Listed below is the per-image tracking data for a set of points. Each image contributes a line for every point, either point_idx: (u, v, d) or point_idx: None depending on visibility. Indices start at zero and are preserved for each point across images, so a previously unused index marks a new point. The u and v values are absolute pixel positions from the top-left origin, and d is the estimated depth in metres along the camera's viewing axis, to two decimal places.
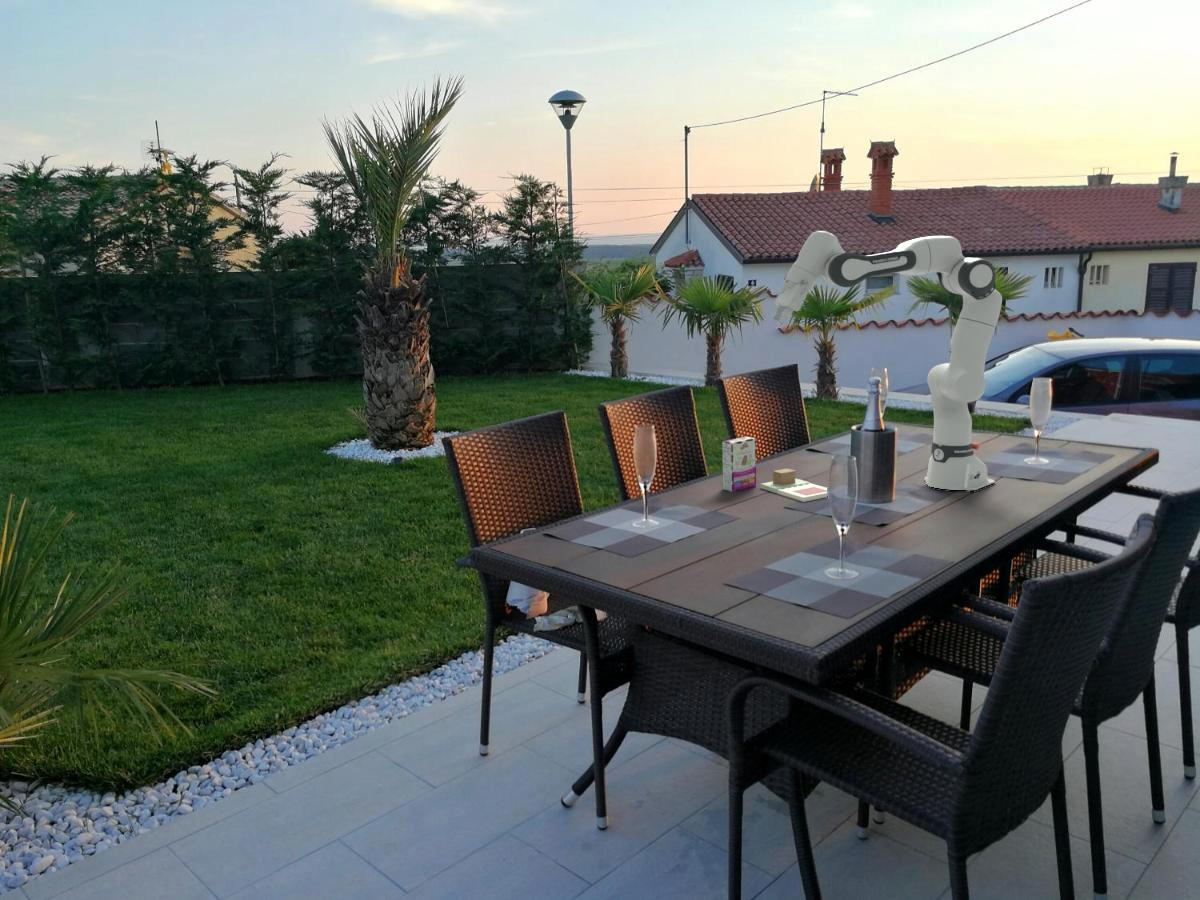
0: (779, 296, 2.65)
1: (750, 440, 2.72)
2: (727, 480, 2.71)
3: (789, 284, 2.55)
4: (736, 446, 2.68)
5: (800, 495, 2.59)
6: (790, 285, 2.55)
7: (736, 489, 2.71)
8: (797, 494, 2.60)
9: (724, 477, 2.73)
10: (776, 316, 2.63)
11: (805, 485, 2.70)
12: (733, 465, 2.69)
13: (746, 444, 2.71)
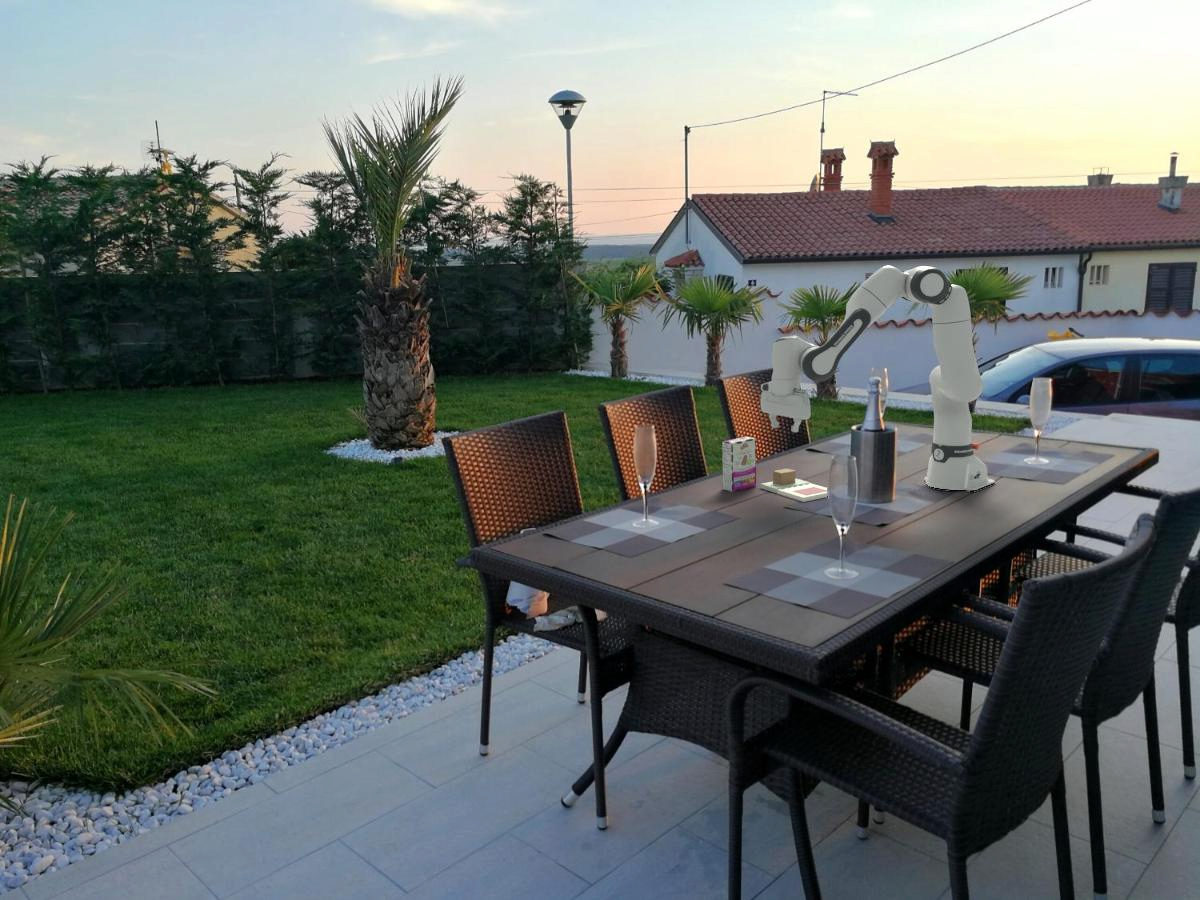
0: (765, 404, 2.74)
1: (750, 440, 2.72)
2: (727, 480, 2.71)
3: (781, 396, 2.65)
4: (736, 446, 2.68)
5: (800, 495, 2.59)
6: (783, 397, 2.65)
7: (736, 489, 2.71)
8: (797, 494, 2.60)
9: (724, 477, 2.73)
10: (775, 424, 2.73)
11: (805, 485, 2.70)
12: (733, 465, 2.69)
13: (746, 444, 2.71)
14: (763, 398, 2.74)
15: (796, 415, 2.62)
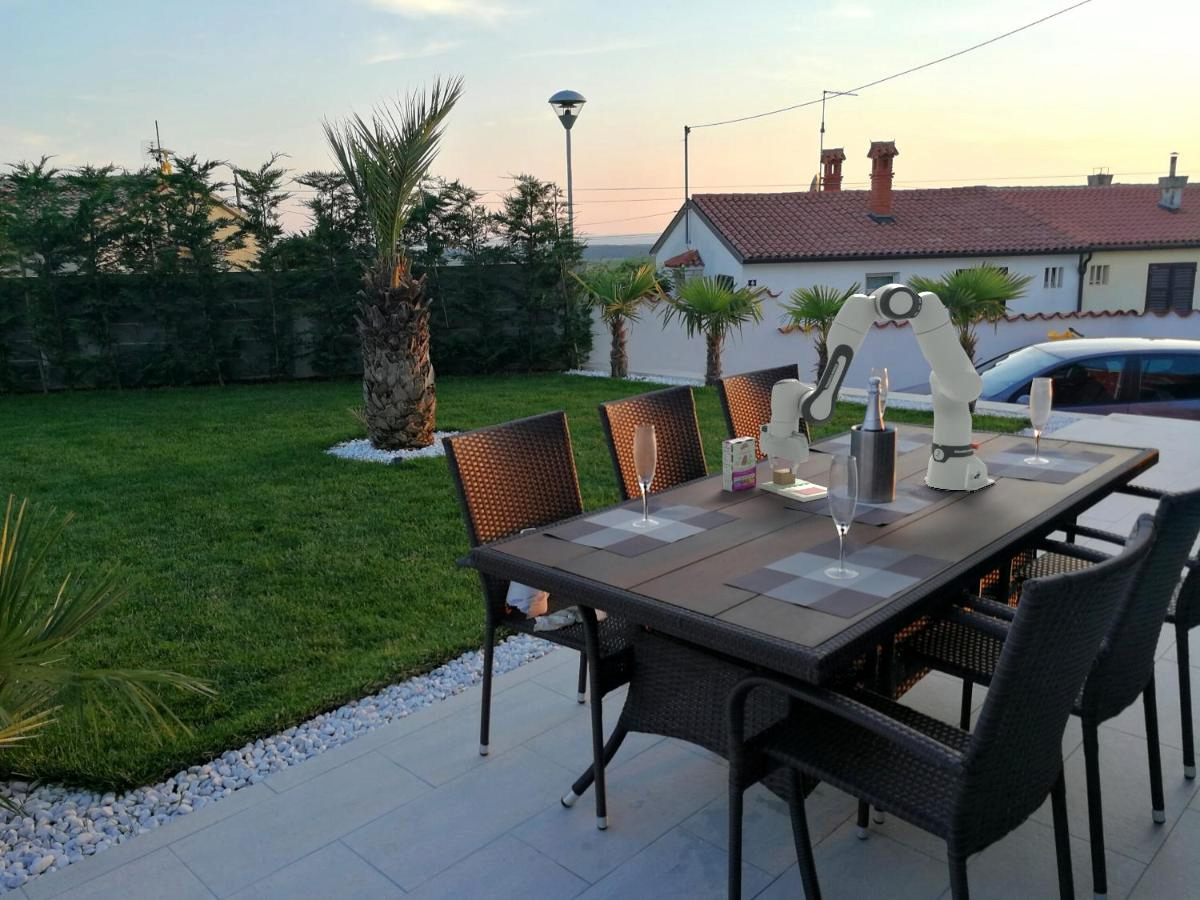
0: (763, 445, 2.77)
1: (750, 440, 2.72)
2: (727, 480, 2.71)
3: (780, 439, 2.68)
4: (736, 446, 2.68)
5: (800, 495, 2.59)
6: (782, 439, 2.68)
7: (736, 489, 2.71)
8: (797, 494, 2.60)
9: (724, 477, 2.73)
10: (774, 465, 2.76)
11: (805, 485, 2.70)
12: (733, 465, 2.69)
13: (746, 444, 2.71)
14: (762, 439, 2.77)
15: (794, 458, 2.65)
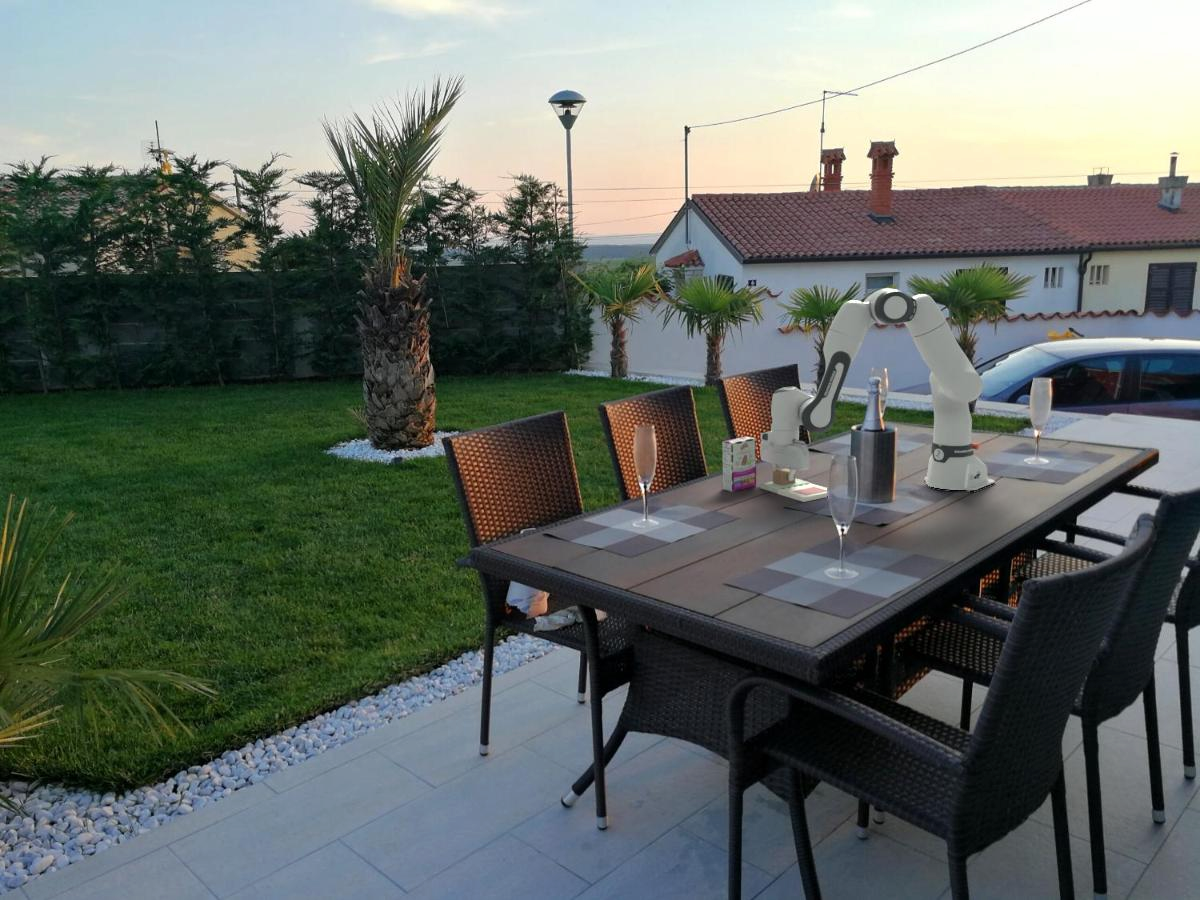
0: (764, 453, 2.78)
1: (750, 440, 2.72)
2: (727, 480, 2.71)
3: (781, 446, 2.69)
4: (736, 446, 2.68)
5: (800, 495, 2.59)
6: (782, 447, 2.68)
7: (736, 489, 2.71)
8: (797, 494, 2.60)
9: (724, 477, 2.73)
10: None
11: (805, 485, 2.70)
12: (733, 465, 2.69)
13: (746, 444, 2.71)
14: (763, 447, 2.78)
15: (795, 466, 2.65)
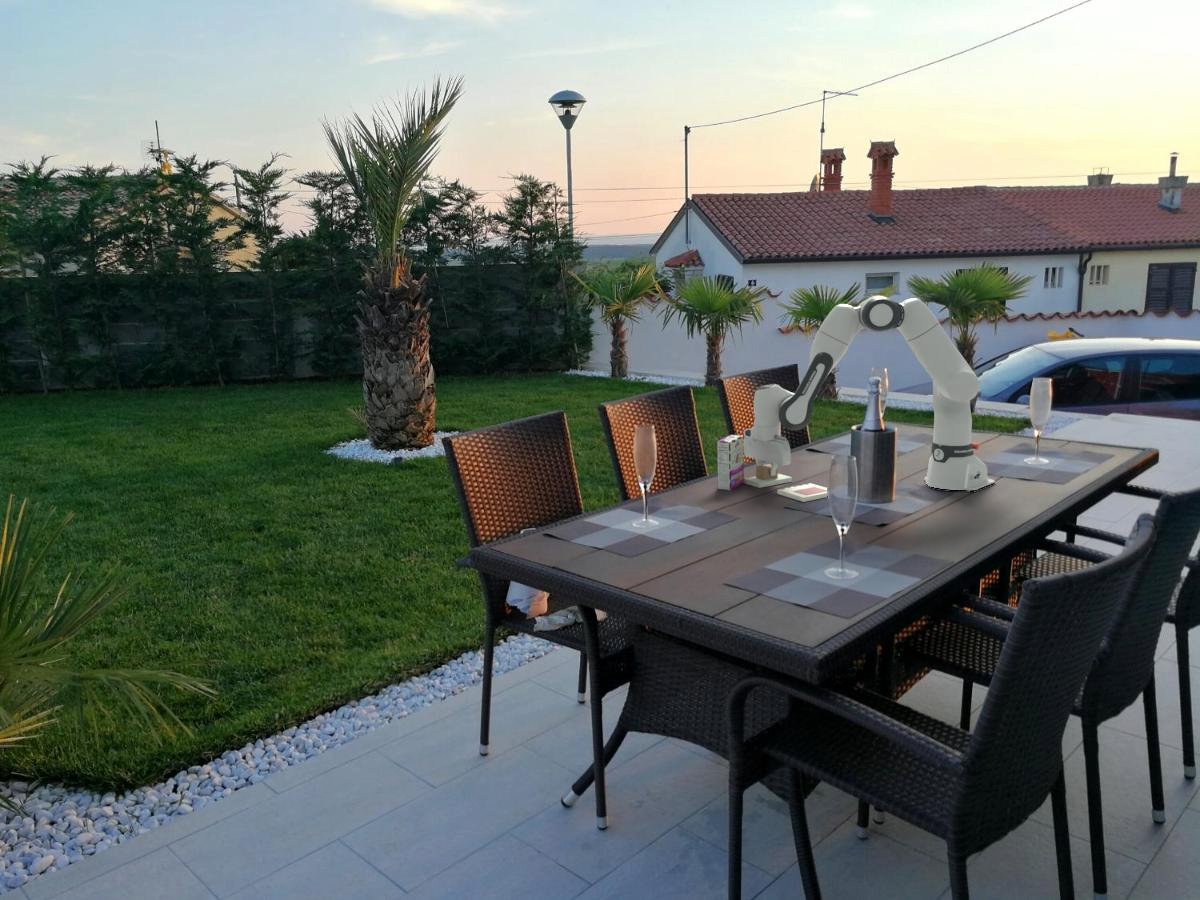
0: (747, 449, 2.85)
1: (740, 438, 2.76)
2: (724, 479, 2.73)
3: (763, 442, 2.76)
4: (732, 444, 2.71)
5: (800, 495, 2.59)
6: (765, 443, 2.76)
7: (732, 487, 2.74)
8: (797, 494, 2.60)
9: (719, 476, 2.73)
10: None
11: (805, 485, 2.70)
12: (730, 464, 2.71)
13: (738, 442, 2.75)
14: (746, 443, 2.85)
15: (777, 461, 2.73)
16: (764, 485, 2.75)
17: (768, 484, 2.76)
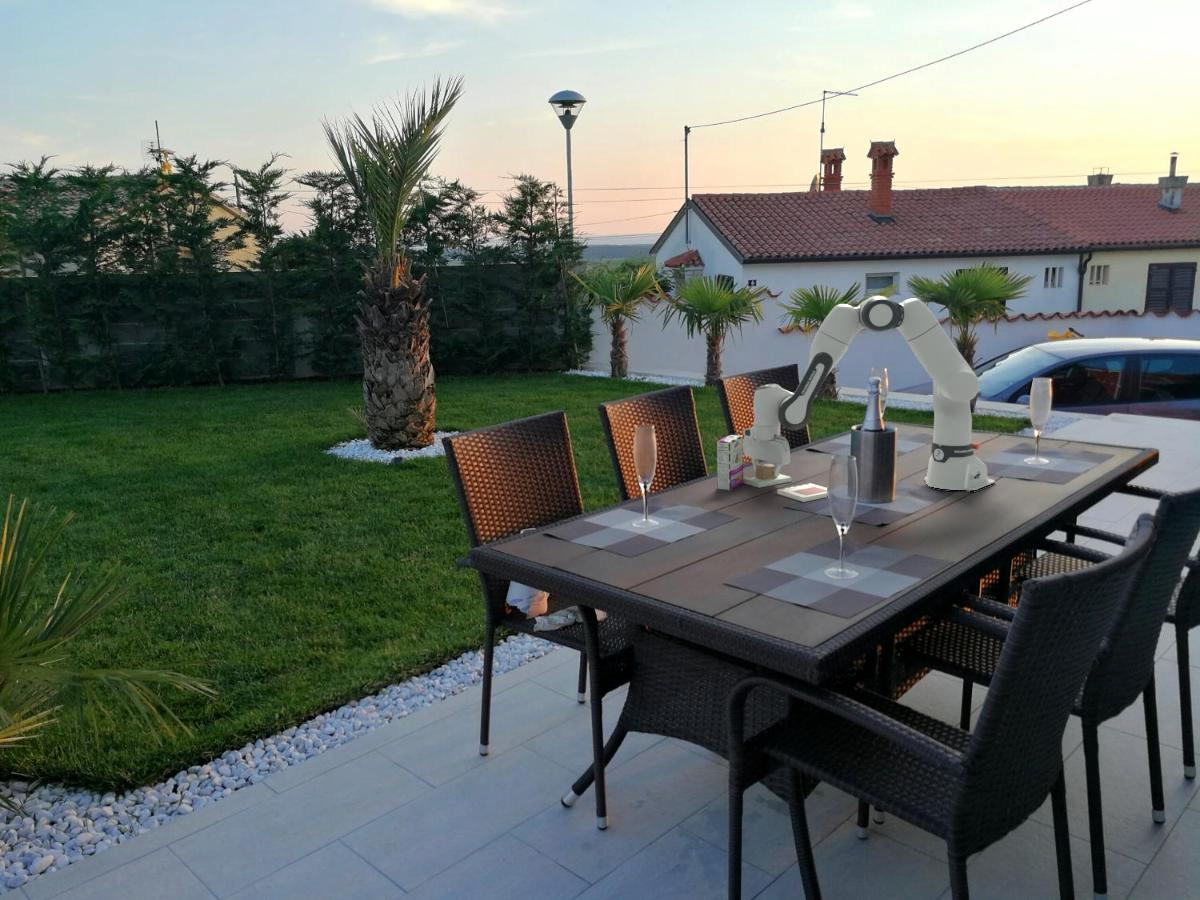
0: (747, 448, 2.85)
1: (739, 438, 2.76)
2: (723, 479, 2.73)
3: (762, 442, 2.76)
4: (731, 444, 2.71)
5: (800, 495, 2.59)
6: (764, 443, 2.76)
7: (732, 487, 2.74)
8: (797, 494, 2.60)
9: (719, 476, 2.73)
10: None
11: (805, 485, 2.70)
12: (730, 464, 2.71)
13: (738, 442, 2.75)
14: (745, 442, 2.85)
15: (776, 461, 2.73)
16: (763, 485, 2.75)
17: (767, 484, 2.76)
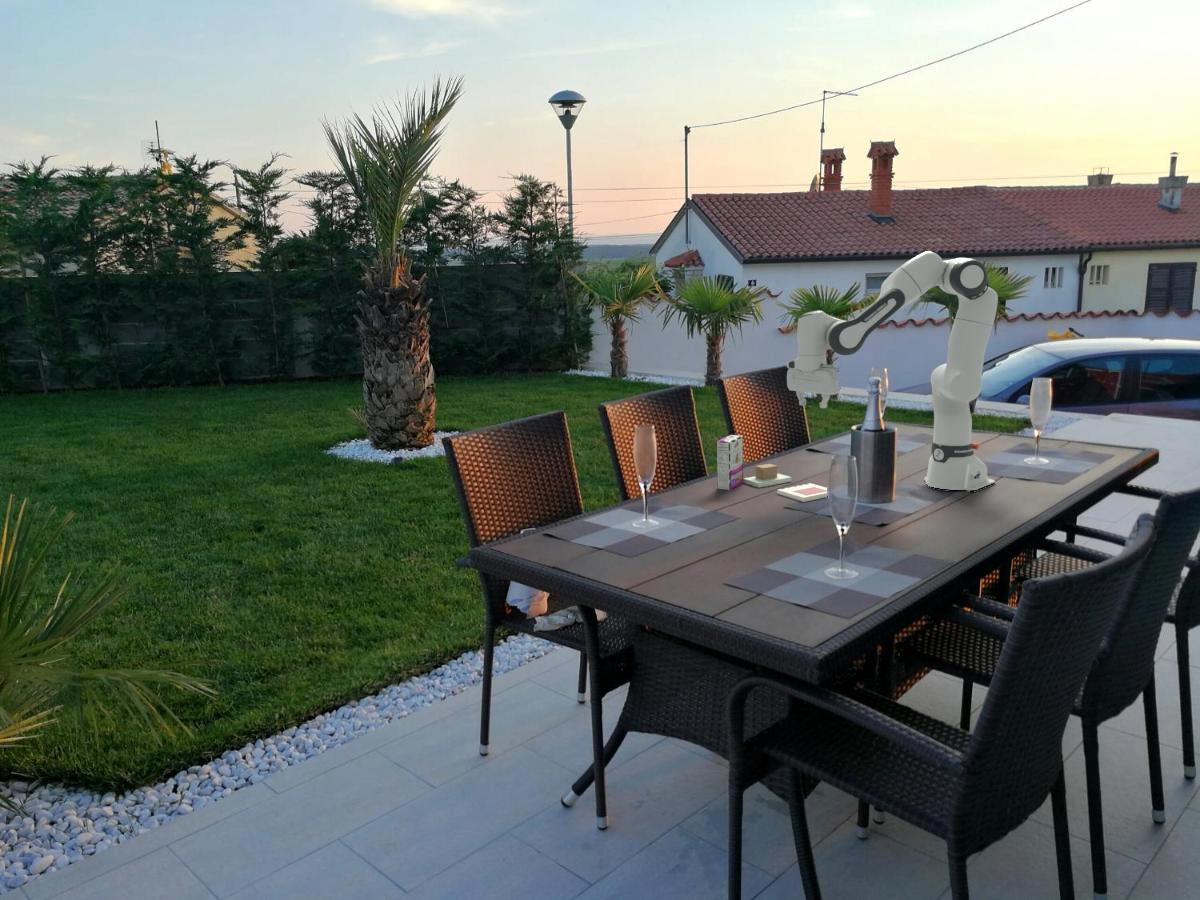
0: (791, 382, 2.72)
1: (739, 438, 2.76)
2: (723, 479, 2.73)
3: (808, 372, 2.62)
4: (731, 444, 2.71)
5: (800, 495, 2.59)
6: (810, 373, 2.62)
7: (732, 487, 2.74)
8: (797, 494, 2.60)
9: (719, 476, 2.73)
10: (803, 401, 2.70)
11: (805, 485, 2.70)
12: (730, 464, 2.71)
13: (738, 442, 2.75)
14: (789, 376, 2.71)
15: (824, 391, 2.59)
16: (763, 485, 2.75)
17: (767, 484, 2.76)
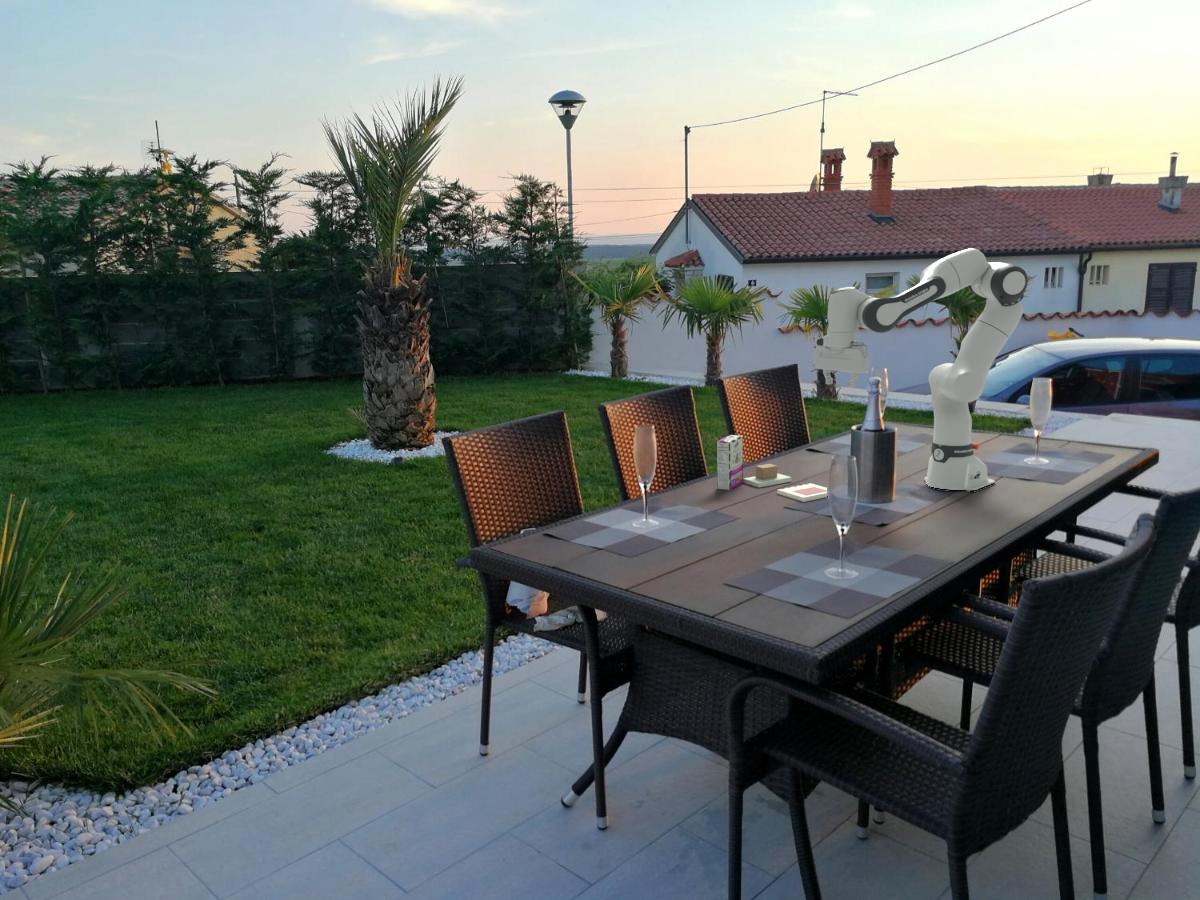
0: (818, 360, 2.64)
1: (739, 438, 2.76)
2: (723, 479, 2.73)
3: (838, 350, 2.55)
4: (731, 444, 2.71)
5: (800, 495, 2.59)
6: (840, 351, 2.55)
7: (732, 487, 2.74)
8: (797, 494, 2.60)
9: (719, 476, 2.73)
10: (830, 380, 2.63)
11: (805, 485, 2.70)
12: (730, 464, 2.71)
13: (738, 442, 2.75)
14: (817, 354, 2.64)
15: (854, 369, 2.52)
16: (763, 485, 2.75)
17: (767, 484, 2.76)
